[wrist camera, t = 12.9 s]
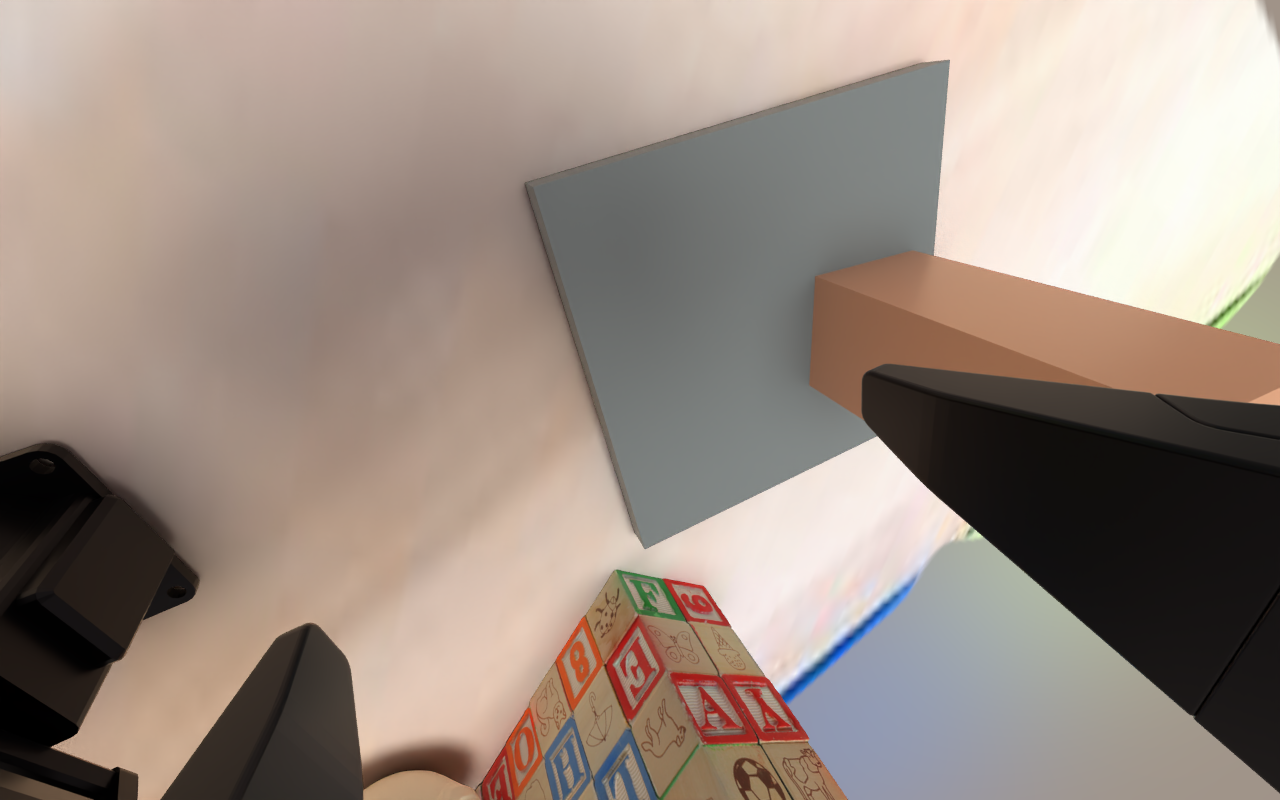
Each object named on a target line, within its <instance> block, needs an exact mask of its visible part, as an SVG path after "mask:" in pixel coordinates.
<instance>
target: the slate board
mask: <svg viewBox="0 0 1280 800" xmlns="http://www.w3.org/2000/svg"><path fill="white" fill-rule="evenodd" d="M949 64H950V60H944V61H934V62H924V63H920V64H917V65H913V66H910V67H907V68H903V69H900V70H897V71H894V72H890V73H887V74H884V75H880V76H877V77H874V78H870V79H867V80H864V81H860V82H857V83H854V84H851V85H847V86H844V87H841V88H837V89H834V90H831V91H827V92H824V93H821V94H817V95H814V96H811V97H808V98H804V99H801V100H798V101H794V102H791V103H788V104H784V105H781V106H778V107H774V108H771V109H768V110H764V111H761V112H758V113H755V114H751V115H748V116H745V117H741V118H738V119H735V120H731V121H728V122H725V123H721V124H718V125H715V126H712V127H708V128H705V129H702V130H698V131H695V132H692V133H688V134H685V135H682V136H678V137H675V138H672V139H669V140H665V141H662V142H659V143H655V144H652V145H649V146H645V147H642V148H639V149H635V150H632V151H629V152H626V153H622V154H619V155H616V156H612V157H609V158H606V159H602V160H599V161H596V162H592V163H589V164H586V165H583V166H579V167H576V168H573V169H569V170H566V171H563V172H559V173H556V174H553V175H549V176H546V177H543V178H540V179H536V180H533V181H530V182H526V183H525V185H526V188H527V192H528V195H529V198H530V201H531V204H532V207H533V211H534V214H535V217H536V220H537V223H538V226H539V230H540V233H541V236H542V239H543V242H544V246H545V249H546V252H547V255H548V258H549V261H550V265H551V268H552V271H553V274H554V277H555V280H556V284H557V287H558V290H559V293H560V296H561V299H562V303H563V306H564V309H565V312H566V315H567V319H568V322H569V325H570V328H571V331H572V334H573V338H574V341H575V344H576V347H577V350H578V353H579V357H580V360H581V363H582V366H583V369H584V372H585V376H586V379H587V382H588V385H589V388H590V392H591V395H592V398H593V401H594V404H595V407H596V411H597V414H598V417H599V420H600V423H601V426H602V430H603V433H604V436H605V439H606V442H607V445H608V449H609V452H610V455H611V458H612V461H613V465H614V468H615V471H616V474H617V477H618V480H619V484H620V487H621V490H622V493H623V496H624V499H625V503H626V506H627V509H628V512H629V515H630V518H631V522H632V525H633V528H634V531H635V534H636V535H637V537H638V539H639V540H640V542H641V544H642V545H643V547H644V549H647V548H649V547H651V546H653V545H655V544H657V543H659V542H661V541H663V540H665V539H667V538H669V537H671V536H673V535H675V534H677V533H679V532H681V531H683V530H685V529H688V528H690V527H692V526H694V525H696V524H698V523H700V522H702V521H704V520H706V519H708V518H710V517H712V516H714V515H716V514H718V513H720V512H722V511H724V510H727V509H729V508H731V507H733V506H735V505H737V504H739V503H741V502H743V501H745V500H747V499H749V498H751V497H753V496H755V495H757V494H759V493H761V492H763V491H765V490H768V489H770V488H772V487H774V486H776V485H778V484H780V483H782V482H784V481H786V480H788V479H790V478H792V477H794V476H796V475H798V474H800V473H802V472H804V471H807V470H809V469H811V468H813V467H815V466H817V465H819V464H821V463H823V462H825V461H827V460H829V459H831V458H833V457H835V456H837V455H839V454H841V453H843V452H845V451H848V450H850V449H852V448H854V447H856V446H858V445H860V444H862V443H864V442H866V441H868V440H870V439H872V438H874V437H876V436H877V435H876V434H875V433H874V432H873V431H872V430H871V429H870V428H869V427H868V425H867V424H866V423H865V421H864V420H863V419H861V418H859V417H858V416H856V415H855V414H853V413H852V412H850V411H849V410H847V409H845V408H844V407H842V406H841V405H839V404H838V403H836V402H834V401H833V400H831V399H830V398H828V397H827V396H825V395H824V394H822V393H820V392H819V391H817V390H816V389H814V388H813V387H811V386H809V381H810V362H811V344H812V326H813V308H814V290H815V276H818V275H822V274H825V273H829V272H833V271H837V270H841V269H844V268H848V267H852V266H856V265H859V264H863V263H867V262H871V261H874V260H878V259H882V258H886V257H889V256H893V255H897V254H901V253H904V252H908V251H912V250H913V251H917V252H921V253H925V254H929V255H933V256H934V244H935V232H936V220H937V208H938V196H939V184H940V172H941V160H942V148H943V136H944V124H945V112H946V100H947V88H948V76H949Z"/></svg>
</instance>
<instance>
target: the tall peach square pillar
mask: <svg viewBox="0 0 1280 800" xmlns="http://www.w3.org/2000/svg"><path fill="white" fill-rule="evenodd" d="M883 364H897V365H906V366H915V367H924V368H933V369H942V370H951V371H960V372H969V373H978V374H987V375H996V376H1005V377H1014V378H1023V379H1032V380H1041V381H1050V382H1059V383H1068V384H1077V385H1086V386H1095V387H1104V388H1113V389H1122V390H1131V391H1140V392H1149V393H1152V394H1154V395H1155V394H1168V395H1177V396H1186V397H1195V398H1205V399H1215V400H1226V401H1236V402H1246V403H1258V404H1271V405H1280V344H1277V343H1273V342H1269V341H1265V340H1261V339H1257V338H1254V337H1249V336H1246V335H1242V334H1238V333H1234V332H1230V331H1226V330H1222V329H1218V328H1214V327H1211V326H1207V325H1203V324H1199V323H1195V322H1191V321H1187V320H1183V319H1179V318H1175V317H1171V316H1168V315H1164V314H1160V313H1156V312H1152V311H1148V310H1144V309H1140V308H1136V307H1132V306H1128V305H1124V304H1121V303H1117V302H1113V301H1109V300H1105V299H1101V298H1097V297H1093V296H1089V295H1085V294H1081V293H1078V292H1074V291H1070V290H1066V289H1062V288H1058V287H1054V286H1050V285H1046V284H1042V283H1038V282H1035V281H1031V280H1027V279H1023V278H1019V277H1015V276H1011V275H1007V274H1003V273H999V272H995V271H991V270H988V269H984V268H980V267H976V266H972V265H968V264H964V263H960V262H956V261H952V260H948V259H945V258H941V257H937V256H933V255H929V254H925V253H921V252H917V251H913V250H912V251H908V252H904V253H901V254H897V255H893V256H889V257H886V258H882V259H878V260H874V261H871V262H867V263H863V264H859V265H856V266H852V267H848V268H844V269H841V270H837V271H833V272H829V273H825V274H822V275H818V276H815V290H814V308H813V326H812V344H811V362H810V381H809V386H811V387H813V388H814V389H816V390H817V391H819V392H820V393H822V394H824V395H825V396H827V397H828V398H830V399H831V400H833V401H834V402H836V403H838V404H839V405H841V406H842V407H844V408H845V409H847V410H849V411H850V412H852V413H853V414H855V415H856V416H858V417H859V418H861V419H863V417H862V412H861V394H862V377H863V375H864V374H865V373H866V372H867V371H869V370H871V369H873V368H875V367H878V366H880V365H883ZM863 420H864V419H863Z"/></svg>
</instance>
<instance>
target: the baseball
mask: <svg viewBox="0 0 1280 800" xmlns="http://www.w3.org/2000/svg"><path fill="white" fill-rule="evenodd" d="M363 800H480V798H479V797H478V795H477V793H476V792H475V791H474V790H473V789H472V788H471V787H469V786H465V785H462V784H459V783H458V782H456V781H454V780H451V779H450V778H448V777H446V776H444V775H440V774H438V773H436V772H432V771H427V770H416V771H404V772H399V773H395V774H392V775H390V776H387V777H385V778H383V779H381V780H379V781H377V782H375V783H373V784H372V785H370V786H369V787H367V788H366V789H364V790H363Z"/></svg>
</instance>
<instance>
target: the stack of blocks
mask: <svg viewBox="0 0 1280 800" xmlns="http://www.w3.org/2000/svg"><path fill="white" fill-rule="evenodd" d="M808 740H809V737H808V736H807V734H806V732H805V731H804V730H803V728H802V727H801V725H800V724H799V722H798V720H797V719H796V718H795V716H794V715H793V714H792V712H791V710H790V709H789V707H788V706H787V705H786V703H785V702H784V701H783V699H782V697H781V695H780V694H779V693H778V692H777V690H776V689H775V688H774V686H773V684H772V683H771V682H770V680H769V679H767V678H766V677H765V675H764V673H763V672H762V671H761V669H760V668H759V666H758V665H757V664H756V662H755V661H754V659H753V658H752V656H751V655H750V654H749V652H748V651H747V649H746V648H745V646H744V645H743V643H742V642H741V640H740V639H739V638H738V636H737V635H736V634H735V632H734V631H733V630H732V629H731V625H730V624H729V622H728V620H727V619H726V618H725V616H724V615H723V613H722V612H721V610H720V609H719V608H718V606H717V605H716V603H715V602H714V600H713V599H712V597H711V595H710V594H709V592H708V591H707V590H706V588H705V587H704V586H700V585H695V584H690V583H685V582H680V581H675V580H669V579H660V578H655V577H650V576H645V575H640V574H635V573H630V572H624V571H620V570H615V571H614V572H613V573H612V575H611V576H610V578H609V579H608V581H607V582H606V584H605V586H604V587H603V589H602V590H601V592H600V593H599V595H598V597H597V598H596V600H595V601H594V603H593V604H592V606H591V608H590V609H589V611H588V612H587V614H586V615H585V616H584V617H583V618H582V619H581V621H580V623H579V624H578V626H577V627H576V629H575V630H574V632H573V634H572V635H571V637H570V638H569V640H568V642H567V643H566V645H565V646H564V648H563V649H562V651H561V653H560V654H559V656H558V657H557V659H556V662H555V663H554V664H553V665H552V667H551V668H550V670H549V671H548V673H547V674H546V676H545V678H544V679H543V681H542V682H541V684H540V686H539V687H538V689H537V690H536V692H535V694H534V695H533V697H532V698H531V700H530V704H529V707H528V708H527V709H526V711H525V713H524V715H523V717H522V718H521V720H520V722H519V723H518V724H517V726H516V728H515V729H514V731H513V733H512V734H511V736H510V737H509V739H508V741H507V742H506V746H505V747H504V748H503V750H502V752H501V753H500V755H499V756H498V758H497V759H496V761H495V763H494V764H493V766H492V768H491V769H490V771H489V772H488V774H487V776H486V777H485V779H484V781H483V784H481V785H480V786H479V787H478V788H477V789H476V791H475V792H476V793H477V795H478V797H479V798H480V800H848V799H847V798H846V796H845V795H844V793H843V792H842V790H841V789H840V787H839V786H838V785H837V783H836V782H835V780H834V779H833V777H832V776H831V774H830V773H829V771H828V770H827V768H826V767H825V765H824V764H823V763H822V761H821V760H820V758H819V757H818V755H817V754H816V753H815V751H814V750H813V749H812V747H811V746H810V745H809V743H808Z"/></svg>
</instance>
